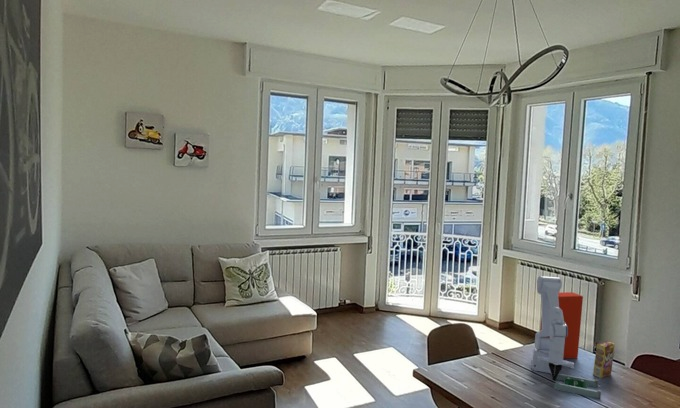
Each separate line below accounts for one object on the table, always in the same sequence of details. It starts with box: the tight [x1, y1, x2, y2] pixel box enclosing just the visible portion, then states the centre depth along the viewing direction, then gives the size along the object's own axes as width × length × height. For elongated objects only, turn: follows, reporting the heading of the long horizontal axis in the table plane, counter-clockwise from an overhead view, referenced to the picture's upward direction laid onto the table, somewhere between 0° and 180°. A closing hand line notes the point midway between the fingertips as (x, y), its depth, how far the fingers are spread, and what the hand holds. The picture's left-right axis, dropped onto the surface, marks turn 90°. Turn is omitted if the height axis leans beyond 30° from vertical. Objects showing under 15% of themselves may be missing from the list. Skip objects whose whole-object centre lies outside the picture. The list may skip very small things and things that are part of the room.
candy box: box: [592, 340, 616, 379], centre depth 226 cm, size 9×4×15 cm, turn 123°
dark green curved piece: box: [563, 377, 588, 389], centre depth 211 cm, size 9×4×6 cm
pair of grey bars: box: [554, 371, 602, 399], centre depth 212 cm, size 18×12×3 cm
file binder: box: [539, 291, 584, 359], centre depth 247 cm, size 8×17×32 cm, turn 103°
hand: (553, 380), depth 216 cm, fingers closed
